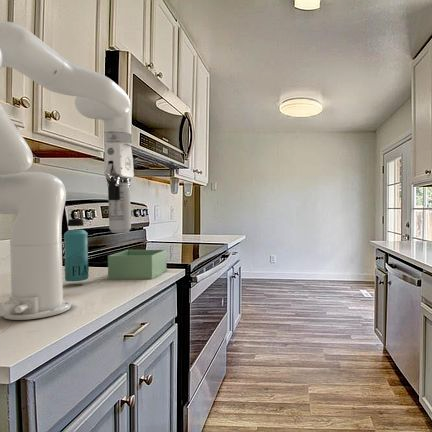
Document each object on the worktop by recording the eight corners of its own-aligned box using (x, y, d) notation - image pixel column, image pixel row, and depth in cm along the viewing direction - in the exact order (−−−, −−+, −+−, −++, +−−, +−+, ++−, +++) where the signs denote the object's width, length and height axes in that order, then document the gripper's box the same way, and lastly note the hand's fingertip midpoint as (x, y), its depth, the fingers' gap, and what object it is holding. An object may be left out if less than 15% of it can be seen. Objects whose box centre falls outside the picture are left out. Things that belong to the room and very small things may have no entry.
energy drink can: (135, 231, 111) (134, 183, 110) (120, 233, 105) (119, 182, 104) (119, 230, 113) (118, 183, 112) (104, 232, 107) (103, 182, 106)
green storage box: (152, 278, 117) (151, 255, 116) (108, 279, 116) (107, 255, 116) (166, 270, 132) (166, 249, 132) (127, 270, 131) (127, 249, 131)
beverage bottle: (69, 287, 104) (68, 219, 103) (60, 284, 108) (59, 218, 107) (93, 283, 109) (92, 218, 109) (83, 280, 113) (82, 218, 113)
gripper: (117, 135, 99) (119, 200, 100) (141, 144, 116) (142, 199, 117) (90, 135, 99) (92, 200, 100) (118, 144, 116) (119, 199, 117)
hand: (119, 199), depth 109 cm, fingers closed on energy drink can, 6 cm apart
